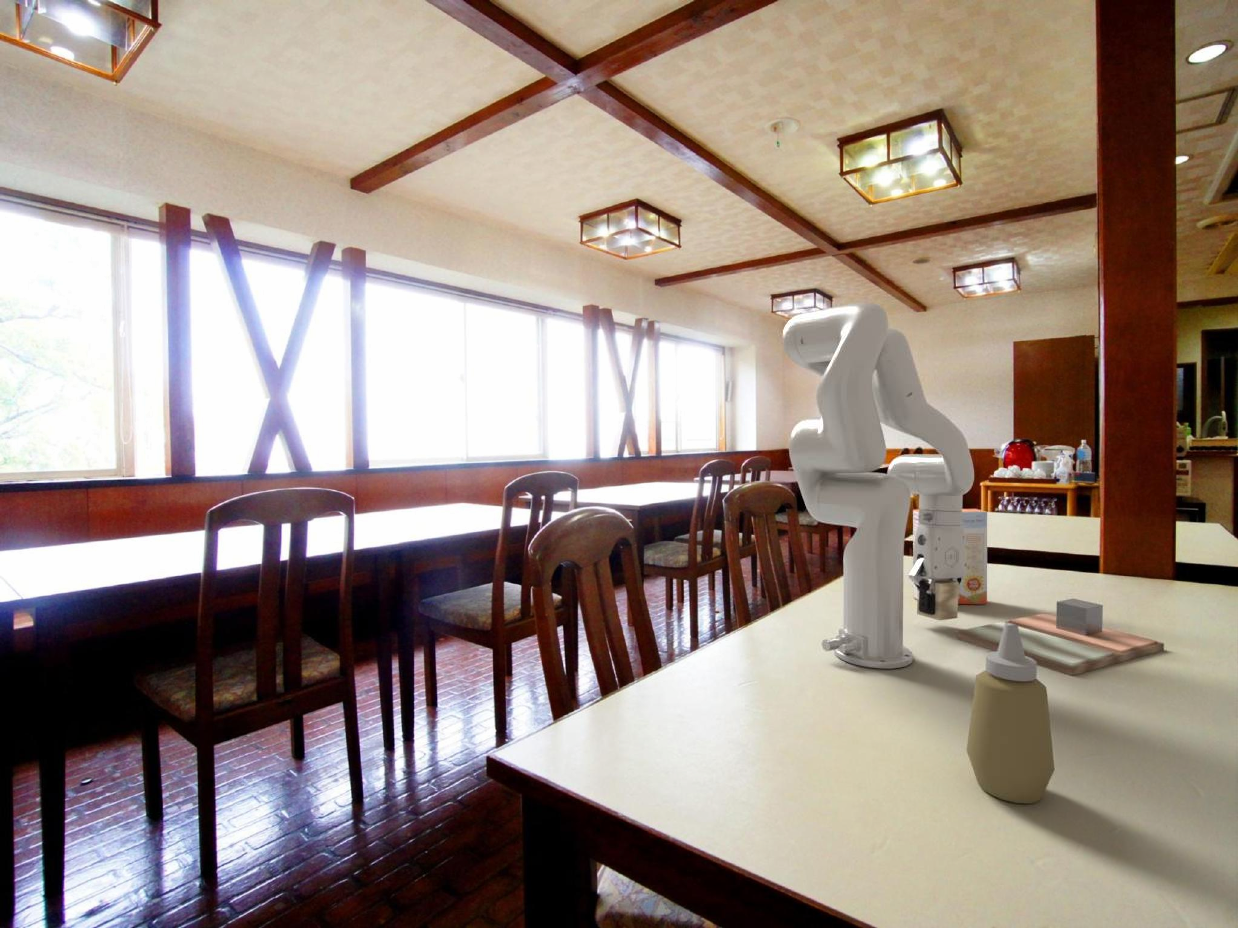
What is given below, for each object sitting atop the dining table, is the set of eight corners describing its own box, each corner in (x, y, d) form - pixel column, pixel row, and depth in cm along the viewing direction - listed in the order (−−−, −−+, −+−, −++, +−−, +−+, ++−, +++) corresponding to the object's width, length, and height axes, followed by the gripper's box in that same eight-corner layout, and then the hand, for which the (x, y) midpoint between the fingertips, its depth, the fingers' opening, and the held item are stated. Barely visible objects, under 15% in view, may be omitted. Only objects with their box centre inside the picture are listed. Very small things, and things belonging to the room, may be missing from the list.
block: (939, 620, 118) (940, 583, 118) (917, 613, 123) (918, 578, 123) (957, 618, 120) (958, 582, 120) (934, 611, 125) (935, 577, 125)
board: (1071, 675, 98) (1072, 665, 98) (956, 638, 116) (956, 629, 116) (1163, 649, 108) (1164, 640, 108) (1044, 619, 126) (1045, 611, 126)
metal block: (1085, 635, 111) (1086, 608, 111) (1056, 628, 116) (1056, 601, 116) (1102, 631, 113) (1102, 604, 113) (1072, 624, 118) (1073, 598, 118)
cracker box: (975, 598, 143) (976, 507, 142) (987, 605, 137) (989, 511, 136) (911, 597, 145) (912, 508, 144) (921, 604, 139) (922, 511, 138)
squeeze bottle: (1019, 768, 71) (1022, 612, 70) (1073, 810, 63) (1077, 636, 62) (950, 770, 71) (952, 614, 70) (995, 813, 63) (998, 638, 62)
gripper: (925, 522, 114) (922, 620, 115) (987, 519, 121) (984, 612, 122) (892, 518, 121) (889, 611, 122) (952, 515, 128) (950, 603, 129)
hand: (937, 610), depth 122 cm, fingers closed on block, 5 cm apart
